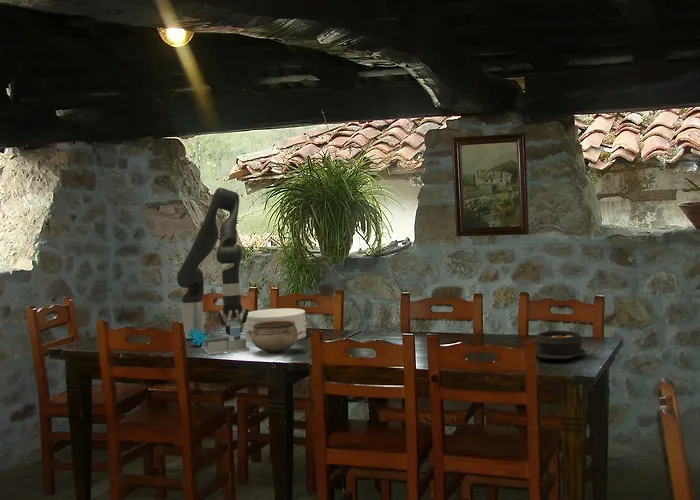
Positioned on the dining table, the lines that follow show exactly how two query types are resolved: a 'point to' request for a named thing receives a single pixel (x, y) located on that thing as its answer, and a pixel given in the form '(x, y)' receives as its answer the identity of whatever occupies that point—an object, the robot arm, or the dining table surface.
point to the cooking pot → (274, 335)
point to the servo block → (235, 329)
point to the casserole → (559, 345)
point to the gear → (198, 336)
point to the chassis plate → (224, 345)
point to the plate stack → (275, 315)
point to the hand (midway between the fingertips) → (234, 333)
